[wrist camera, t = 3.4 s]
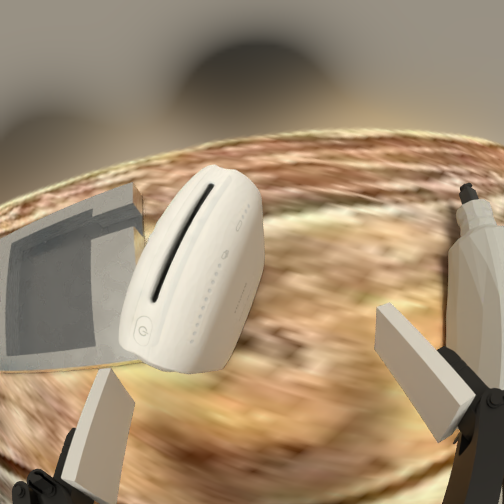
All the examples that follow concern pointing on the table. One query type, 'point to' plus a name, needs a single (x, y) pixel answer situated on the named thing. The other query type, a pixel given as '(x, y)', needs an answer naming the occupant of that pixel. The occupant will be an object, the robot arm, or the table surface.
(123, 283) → the plate
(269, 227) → the table surface
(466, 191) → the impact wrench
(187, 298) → the photo printer
